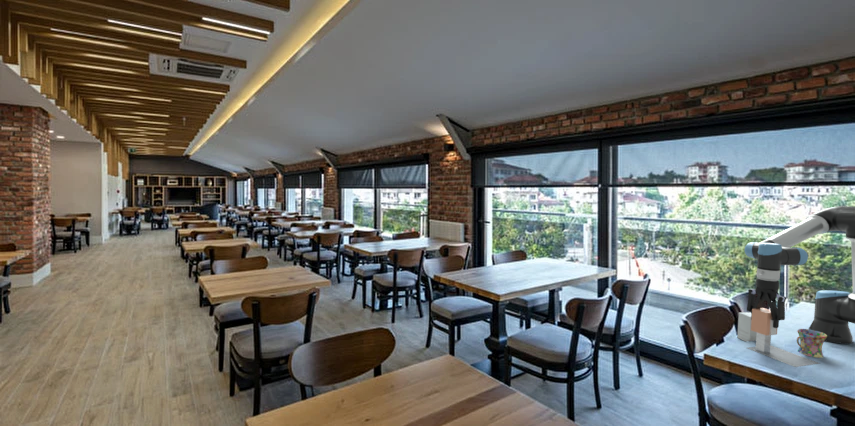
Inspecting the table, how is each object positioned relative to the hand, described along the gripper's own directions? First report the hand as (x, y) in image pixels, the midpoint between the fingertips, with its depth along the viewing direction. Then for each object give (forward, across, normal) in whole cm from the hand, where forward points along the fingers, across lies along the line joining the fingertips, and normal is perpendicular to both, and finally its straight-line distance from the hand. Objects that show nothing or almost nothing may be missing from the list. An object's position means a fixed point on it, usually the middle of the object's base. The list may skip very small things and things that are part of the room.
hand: (763, 331), depth 170 cm
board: (+10, +5, +4) cm, 12 cm away
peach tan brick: (0, 0, 0) cm, 0 cm away
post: (+9, 0, 0) cm, 9 cm away
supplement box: (+10, -13, +11) cm, 20 cm away
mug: (+10, +6, +17) cm, 21 cm away
